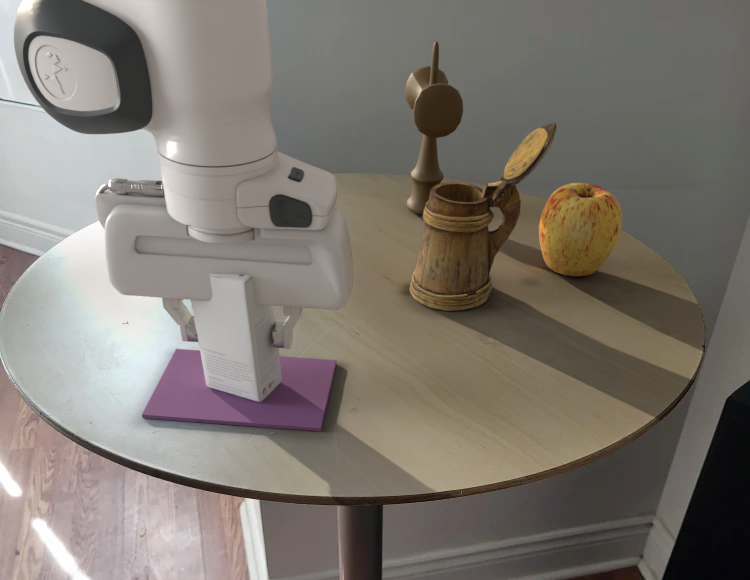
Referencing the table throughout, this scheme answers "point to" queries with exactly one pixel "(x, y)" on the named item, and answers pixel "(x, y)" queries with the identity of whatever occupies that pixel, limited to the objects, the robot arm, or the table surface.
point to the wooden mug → (471, 231)
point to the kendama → (430, 125)
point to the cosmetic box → (237, 339)
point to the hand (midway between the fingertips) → (238, 341)
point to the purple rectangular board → (207, 405)
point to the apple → (579, 228)
